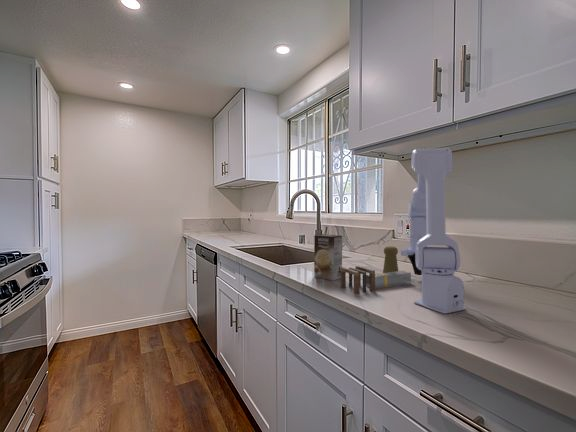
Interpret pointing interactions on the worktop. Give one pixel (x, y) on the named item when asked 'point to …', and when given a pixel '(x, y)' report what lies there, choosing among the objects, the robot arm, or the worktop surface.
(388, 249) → the cork
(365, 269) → the wooden slatted rack
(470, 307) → the worktop surface
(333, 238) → the coffee box
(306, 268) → the worktop surface
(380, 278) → the tube
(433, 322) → the worktop surface
